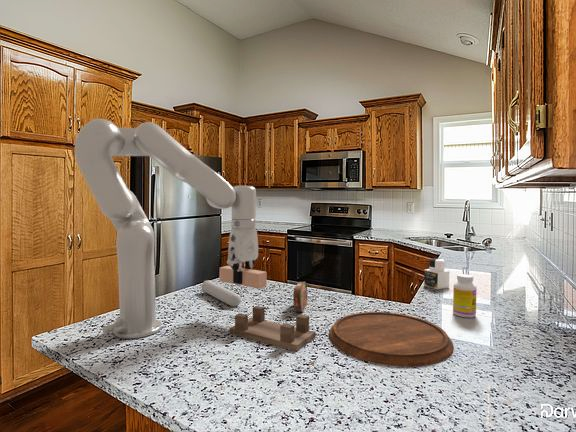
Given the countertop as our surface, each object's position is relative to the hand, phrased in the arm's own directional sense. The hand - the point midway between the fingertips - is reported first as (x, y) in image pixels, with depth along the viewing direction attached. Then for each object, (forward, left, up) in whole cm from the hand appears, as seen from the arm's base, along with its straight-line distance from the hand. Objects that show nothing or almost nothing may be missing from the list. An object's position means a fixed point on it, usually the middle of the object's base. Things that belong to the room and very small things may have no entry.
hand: (242, 281), depth 109 cm
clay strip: (0, 0, -1) cm, 1 cm away
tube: (+11, +20, -12) cm, 25 cm away
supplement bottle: (+39, -60, -12) cm, 73 cm away
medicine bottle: (+72, -47, -12) cm, 87 cm away
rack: (-7, -16, -11) cm, 21 cm away
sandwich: (+18, -11, -12) cm, 24 cm away
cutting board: (+8, -44, -12) cm, 47 cm away
